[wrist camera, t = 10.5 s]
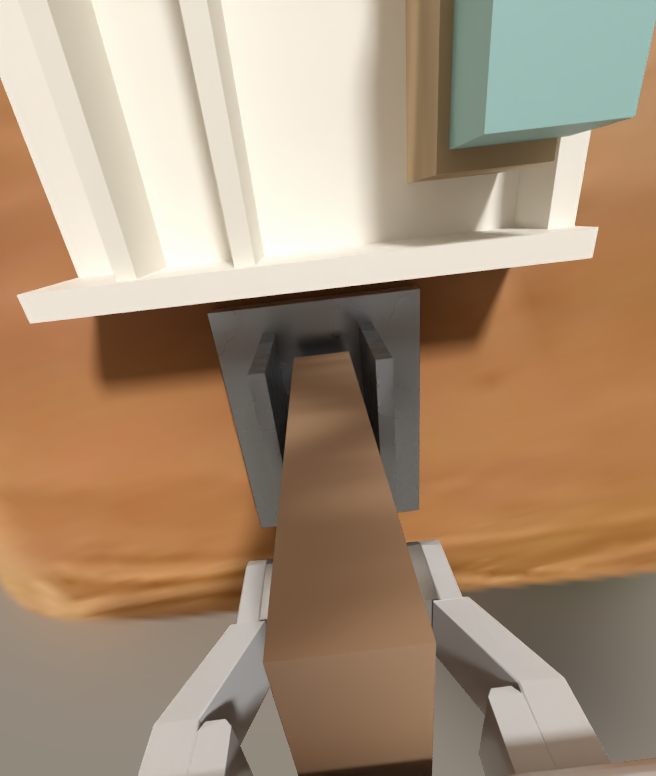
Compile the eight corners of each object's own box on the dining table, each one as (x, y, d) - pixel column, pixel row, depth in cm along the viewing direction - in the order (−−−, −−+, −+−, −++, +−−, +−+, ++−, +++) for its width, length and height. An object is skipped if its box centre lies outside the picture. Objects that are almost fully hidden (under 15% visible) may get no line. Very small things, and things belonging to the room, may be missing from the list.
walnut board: (348, 351, 13) (436, 642, 4) (363, 516, 17) (428, 873, 8) (294, 357, 13) (262, 663, 4) (319, 521, 17) (333, 885, 8)
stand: (414, 285, 14) (460, 316, 10) (414, 498, 19) (446, 582, 15) (212, 308, 14) (171, 349, 10) (263, 516, 19) (250, 604, 15)
